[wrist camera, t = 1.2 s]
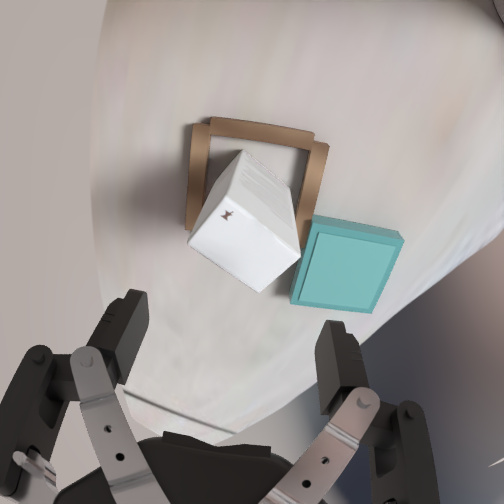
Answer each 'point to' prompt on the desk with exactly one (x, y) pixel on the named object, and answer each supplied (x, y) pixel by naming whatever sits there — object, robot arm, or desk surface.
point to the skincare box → (248, 224)
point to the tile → (344, 265)
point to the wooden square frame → (264, 134)
